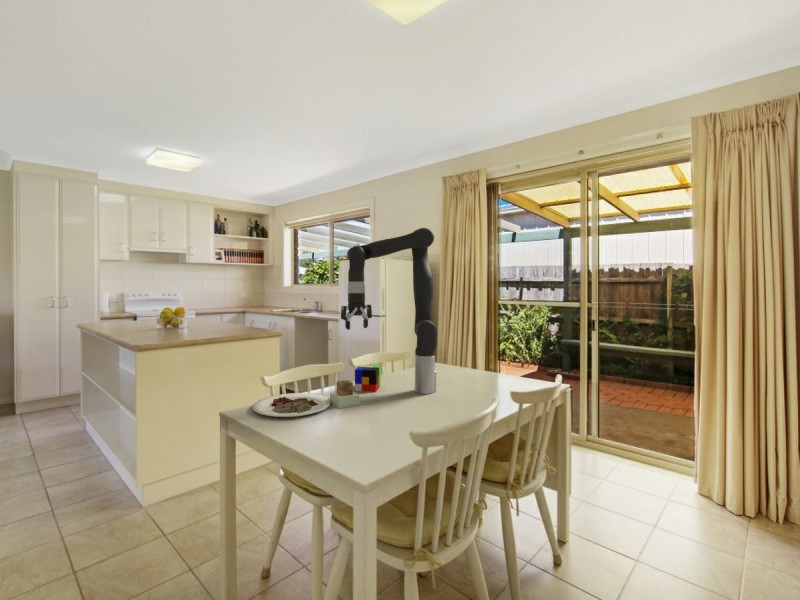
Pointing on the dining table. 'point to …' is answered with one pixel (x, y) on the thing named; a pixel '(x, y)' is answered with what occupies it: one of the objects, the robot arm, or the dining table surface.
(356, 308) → the robot arm
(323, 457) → the dining table surface
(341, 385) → the walnut block
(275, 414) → the plated food
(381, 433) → the dining table surface
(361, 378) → the puzzle toy
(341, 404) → the pedestal
